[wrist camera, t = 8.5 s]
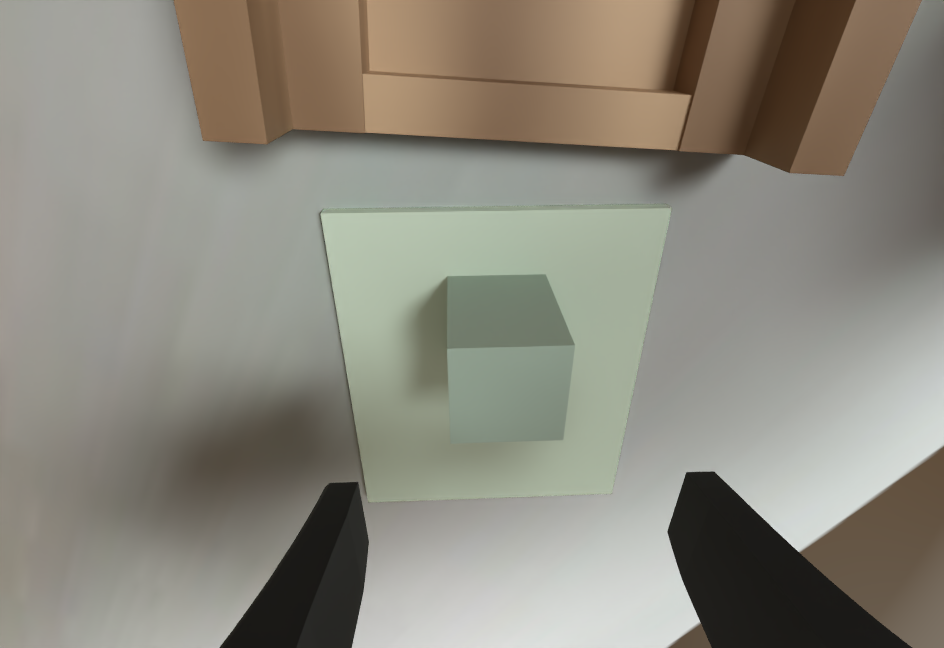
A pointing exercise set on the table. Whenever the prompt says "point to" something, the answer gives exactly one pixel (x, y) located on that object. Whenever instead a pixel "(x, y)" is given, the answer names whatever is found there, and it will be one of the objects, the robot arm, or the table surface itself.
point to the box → (551, 71)
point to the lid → (492, 343)
